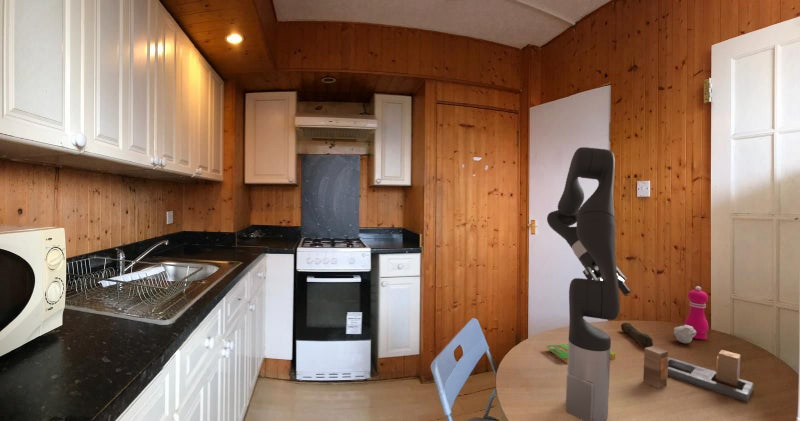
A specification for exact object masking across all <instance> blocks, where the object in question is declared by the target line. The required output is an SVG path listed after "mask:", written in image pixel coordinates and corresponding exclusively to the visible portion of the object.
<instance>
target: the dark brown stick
mask: <svg viewBox="0 0 800 421" xmlns="http://www.w3.org/2000/svg"><path fill="white" fill-rule="evenodd" d="M620 328H621V331H622V332H623V333H626V334H628V335H629V336H630V338H632V339H634V341H637V343H638V344H639V346H640V347H641V348H643V349H645V348H647V347H651V346H654V343H653V338H652V337H651V336H650V335H649V334H646V333H642V332H640V331H639V330H638V329H637V328H635V327H634V326H632V324H631V323H629V322H623V323H621V325H620Z"/></svg>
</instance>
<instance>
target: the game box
mask: <svg viewBox="0 0 800 421" xmlns="http://www.w3.org/2000/svg"><path fill="white" fill-rule="evenodd" d="M545 348H546V349H547V350H548V351H549V352H550V353H551V352H552V354H553V355H554V356H556V357H557V358H559V359H560V360H561V359H562V360H561V361H563V362H565V363H566V364H567V365H568V343H566V344H565V343H563V344H552V345H546V346H545ZM616 355H617V354H616V352H613V351H612V350H610V361H611V360H616V358H617V356H616Z"/></svg>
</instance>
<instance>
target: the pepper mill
mask: <svg viewBox="0 0 800 421" xmlns="http://www.w3.org/2000/svg"><path fill="white" fill-rule="evenodd" d="M687 298H688V300H689V303H688V304H689V306H690V311H689V312H688V313H689V314H688V316H687V317H686V318H685V320H684V325H689V326H692V327H693V328H694V330H695V331H696V335H695V336H694V337H693V338H692V339H696V340H707V338H708V337H707V333H706V332H708V331H709V327H710V326H709V322H708V320H707V317H706V315H705V308H707V304H706V302H708V301H709V296H708V294H707V293H706V292H705V291H702V287H701V286H698V285H697V286H695V289H692V290H690V291H689V292H688V294H687Z"/></svg>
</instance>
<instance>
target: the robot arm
mask: <svg viewBox="0 0 800 421" xmlns="http://www.w3.org/2000/svg"><path fill="white" fill-rule="evenodd" d="M575 150H576V151H575V152H574V153H573V155H572V158H571V160H570V165H569V168H568V172H567V176H566V180H565V186H564V189H563V191H562V194H561V196H560V199H559V201H558V203H557V209H556V210H553V211H551V212H549V213H548V214H547V216H546V222H547V225H549V227H550V228H551V229H552V230H553V231H554V232H555V233H557V234H558V235H559V236H560V237H561V238H563V239H564V240H565V241H566V243H567V244H568V245H569V247H570V248H571V250H572V251H573V253H574V255H575V256H576V258H577V259H578V261H579V262H580V264H581V265H582V267H583V268H584V270H583V271H582V274H584V276H585V278H582V277H581V278H580V277H576V278H575V277H574V278H573V279H572V280H571V281H570V283H569V290H568V304H569V309H568V310H569V324H568V328H569V329H568V340H567V341H568V343H567V344H568V364H567V370H566V371H567V372H566V374H567V375H566V391H565V393H566V394H565V412H567V413H568V414H571V415H573V416H574V417H577V418H579V419H581V420H583V421H607V420H608V418H609V397H610V396H609V393H610V392H609V390H610V368H611V365H610V364H611V360H610V351H611V346H612V340H611V337H610V335H609V334H608V333H607V332H606V331H604V330H602V329H601V328H599V327H596V326H594V325H592V324H591V323H589V322H588V321H587V320H586V319H585V318H593V319H594V318H595V319H602V320H608V321H615V320H617V318H618V317H619V314H620V306H621V303H620V302H621V301H620V300H621V297H620V291H621V293H622V294H623V295H624V296H627V295H629V294H630V293H631V290H630V288H629V287H628V286H627V284H626V283H625V281H626V280H627V279H628V278H627V277H626V276H625V275H624V273H623V272H622V271H621V270H620V269H619V268H618V266H617V261H616V218H615V217H616V216H615V205H614V186H615V185H614V184H615V170H616V167H615V166H616V165H615V163H616V160H615V154H614V152H613V151H612V150H611V149H605V148H598V147H597V148H596V147H587V146H585V147H584V146H583V147H579V148H577V149H575ZM579 178H582V179H589V180H596V181H597V182H598V186H597V188H596V189H595V190H594V192H593V193H592V194H591V195H590V196H589V197H588V198H587V199H586V200H585V192H584V189H583V187H582V185H581V183H580V181H579ZM584 200H585V202H584ZM575 224H576V226H573V225H575ZM584 317H585V318H584Z"/></svg>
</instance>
